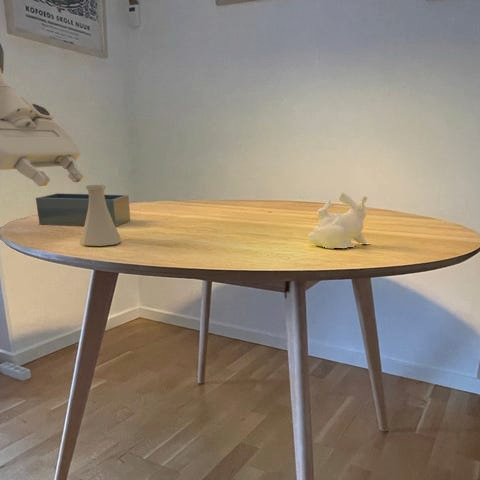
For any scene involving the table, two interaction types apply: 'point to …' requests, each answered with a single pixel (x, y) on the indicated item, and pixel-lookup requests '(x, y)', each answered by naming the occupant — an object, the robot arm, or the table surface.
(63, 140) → the robot arm
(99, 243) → the flask
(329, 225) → the rabbit figurine
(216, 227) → the table surface
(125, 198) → the open box
